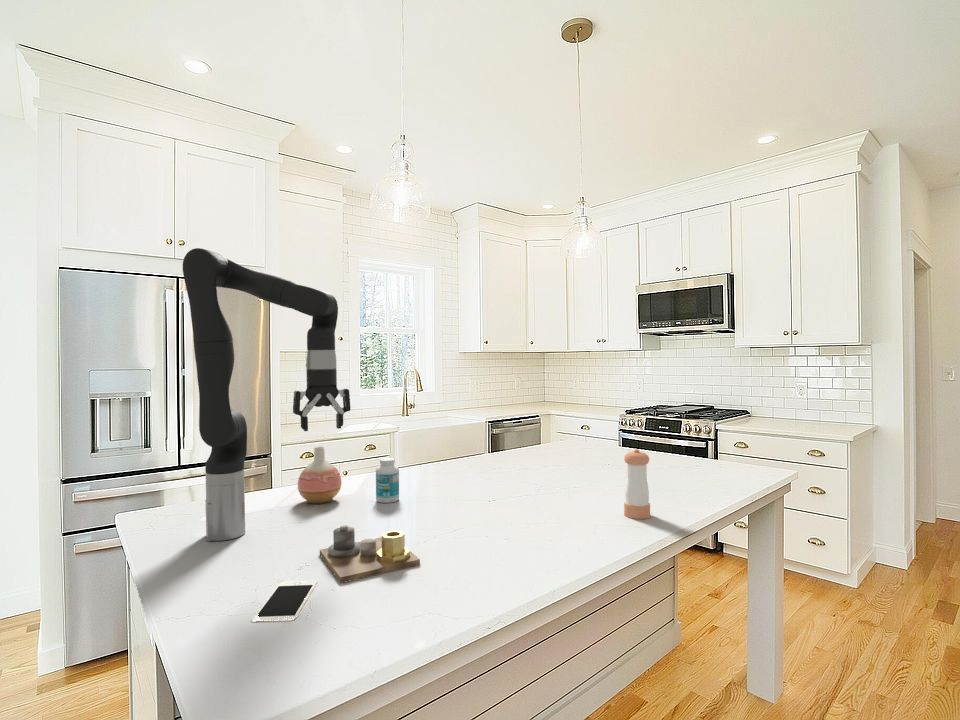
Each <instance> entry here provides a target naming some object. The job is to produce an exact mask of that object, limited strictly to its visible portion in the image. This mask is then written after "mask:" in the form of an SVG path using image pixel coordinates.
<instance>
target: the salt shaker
mask: <svg viewBox="0 0 960 720" xmlns="http://www.w3.org/2000/svg"><path fill="white" fill-rule="evenodd" d="M623 460H624V462H625V463H626V483H625V488H624V497H625V498H624V499H625V500H624V503H623V515H624V516H625V517H626V518H630V519H635V520H645V519H646V520H647V519H649V518H650V517H651V504H650V502H649V501H650V498H649V497H650V491H649V490H650V489H649V484H648V477H647V476H648V475H647V474H648V473H647V472H648V471H647V470H648V469H647V467H648V466H647V465H648V464H649V462H650V457H649V455H648V454H647V453H645V452H643V451H640V450H639V449H638V448H635V449H634V450H633V451H629V452H626V454H625V455H624V458H623Z"/></svg>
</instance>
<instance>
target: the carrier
mask: <svg viewBox="0 0 960 720" xmlns="http://www.w3.org/2000/svg"><path fill="white" fill-rule="evenodd" d="M332 531H333V532H332V533H333V534H332V535H333V538H332V539H333V544H331V545H330V546H328V547H326V548H321V549H319V556H320V555H321V556H322V557H321V556H320V557H321V558H322V560H323V559H324V560H323V561H324V563H325V562H326V563H325V564H326V565H327V567H328V566H329V567H328V568H329V569H330V570H332V571H331V572H332V574H333V575H334V574H335V575H334V576H335V578H336V577H337V578H336V579H337V580H338V582H339V581H340V582H339V583H340V584H342V583H341V582H343V583H346V582H345V581H347V582H350V581H349V580H352V581H354V580H355V579H356V580H360V579H363V578H368V577H372V576H376V575H377V576H378V575H380V574H381V575H383V574H384V573H385V574H386V573H389V572H390V573H391V572H395V571H398V570H402V569H407V568H411V567H415V566H419V565H421V559H420V558H419V557H418V555H415V554H414V553H413V552H412V551H411V550H410V556H409V557H408V558H407V559H406V560H405V561H401V562H396V563H385V562H380V561H379V560H378V559H377V552H378V551H379V550H380V549H381V548H382V537H378V538H366V539H363V540H361V541H357V542H356V541H355V538H356V537H355V528H354V527H353V526H349V525H340V527H337V528H335V529H333V530H332ZM359 578H360V579H359Z"/></svg>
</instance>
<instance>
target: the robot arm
mask: <svg viewBox="0 0 960 720" xmlns="http://www.w3.org/2000/svg"><path fill="white" fill-rule="evenodd" d="M182 275H183V280H184V283H185V288H186V292H187V297H188V301H189V302H188V303H189V310H190V318H191V327H192V334H193V335H192V339H193V351H194V361H195V364H196V365H195V366H196V367H195V368H196V377H197V384H198V393H199V394H198V395H199V397H198V398H199V400H198V401H199V402H198V403H199V405H198V408H199V413H198V429H199V430H198V431H199V434H200V438H201V440H202V441H203V443H205V444H206V445H207V446H209V447H211V452H210V454H209V457H208V458H207V460H206V462H205V463H204V464H205V467H204V469H205V536H206V541H207V542H212V541H214V542H218V541H219V542H221V541H228V540H234V539H236V538H239V537H242V536H243V535H244V534H245V533H246V505H245V504H246V502H245V501H246V499H245V498H246V496H245V462H246V458H247V452H248V426H247V421H246V417H245V416H244V415H243V414H242V412H240V411H238V410H236V409H232V408H231V403H230V401H231V400H230V384H231V379H232V375H233V371H234V365H235V348H234V338H233V334H232V333H233V332H232V330H231V328H230V325H229V324H228V322H227V319H226V318H225V315H224V314H223V311H222V308H221V307H220V303H219V298H218V291H217V288H223V289H230V290H231V289H232V290H236V291H239V292H240V291H241V292H244V293H247V294H250V295H251V296H254V297H256V298H258V299H260V300H263V301H265V302H268V303H271V304H273V305H277V306H280V307H284V308H287V309H292V310H294V311H296V312H299V313H302V314H305V315H307V316H310V317H312V320H311V327H310V328H309V329H308V331H306V332H307V333H306V350H307V351H306V358H305V360H306V363H305V367H306V368H305V370H306V390H305V391H302V390H300V391H299V390H294V391H293V402H292V403H293V404H292V413H293V414H294V415H297V416H299V417H300V428H301V429H302V431H304V432H308V431H309V421H308V420H309V419H308V418H309V417H308V414H309V413H310V411H312V409H313V408H314V407H316V408H319V407H320V408H321V407H323V406H324V407H330V406H331V407H332V408H333V409H334V411H335V412H336V414H335V422H336V424H335V426H336V429H342V427H343V426H344V414H345V413H348V412H350V411H351V399H350V398H351V397H350V390H349V389H348V388H343V389H339V388H338V382H337V378H338V377H337V355H336V334H335V332H336V328H337V323H338V322H337V321H338V316H339V306H338V300H337V299H336V297H335V296H334V295H333V294H332V293H330V292H327V291H323V290H320V289H318V288H317V289H316V288H313V287H310V286H306V285H302V284H299V283H297V282H295V281H292V280H288V279H286V278H283V277H279V276H276V275H272V274H269V273H264V272H260V271H256V270H253V269H250V268H247V267H245V266H242V265H240V264H239V263H237V262H234V261H232V260H231V259H228V258H227V257H225V256H224V255H222V254H220V253H218V252H215V251H213V250H212V251H211V250H208V249H205V248H202V247H201V248H199V247H196V248H191V249H190V250H188V252H186V254H185V256H184V257H183V260H182ZM338 395H339V396H340V397H341V398H342V405H343V406H341V405H340V404H339V403H338V401H337V399H336V398H337V397H339V396H338ZM304 396H305V397H306V399H307V400H308V401H307V402H306V403H305V405H304V407H303V408H302V410H301V400H303V398H304Z"/></svg>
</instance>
